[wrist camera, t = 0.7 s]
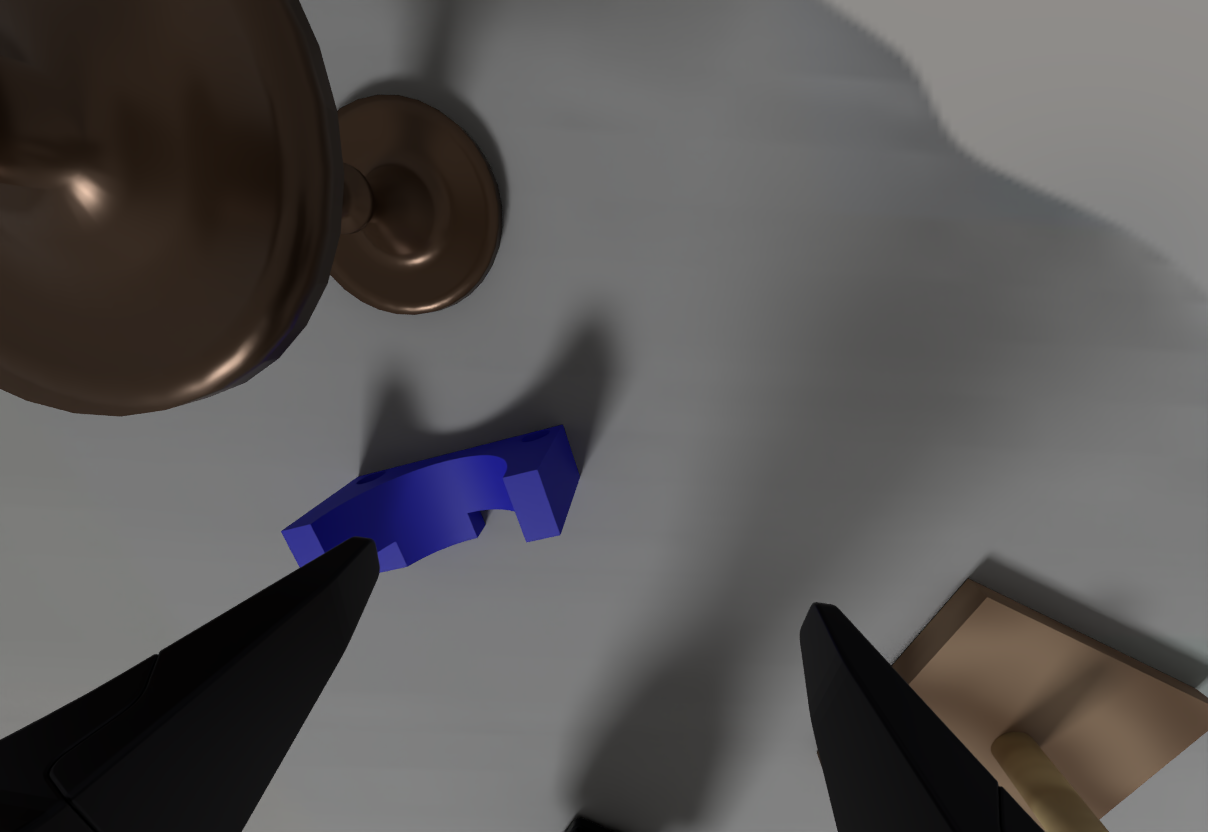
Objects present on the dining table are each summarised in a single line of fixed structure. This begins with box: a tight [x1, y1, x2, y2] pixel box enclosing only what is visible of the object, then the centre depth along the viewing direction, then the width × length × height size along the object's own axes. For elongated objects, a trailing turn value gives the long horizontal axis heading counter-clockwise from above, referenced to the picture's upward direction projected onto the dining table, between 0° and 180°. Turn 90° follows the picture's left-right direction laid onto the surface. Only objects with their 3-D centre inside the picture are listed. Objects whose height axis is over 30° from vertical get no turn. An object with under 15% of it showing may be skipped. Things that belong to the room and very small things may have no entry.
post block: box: [817, 579, 1208, 832], centre depth 24 cm, size 14×14×8 cm
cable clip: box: [281, 425, 580, 573], centre depth 23 cm, size 12×4×6 cm, turn 106°
